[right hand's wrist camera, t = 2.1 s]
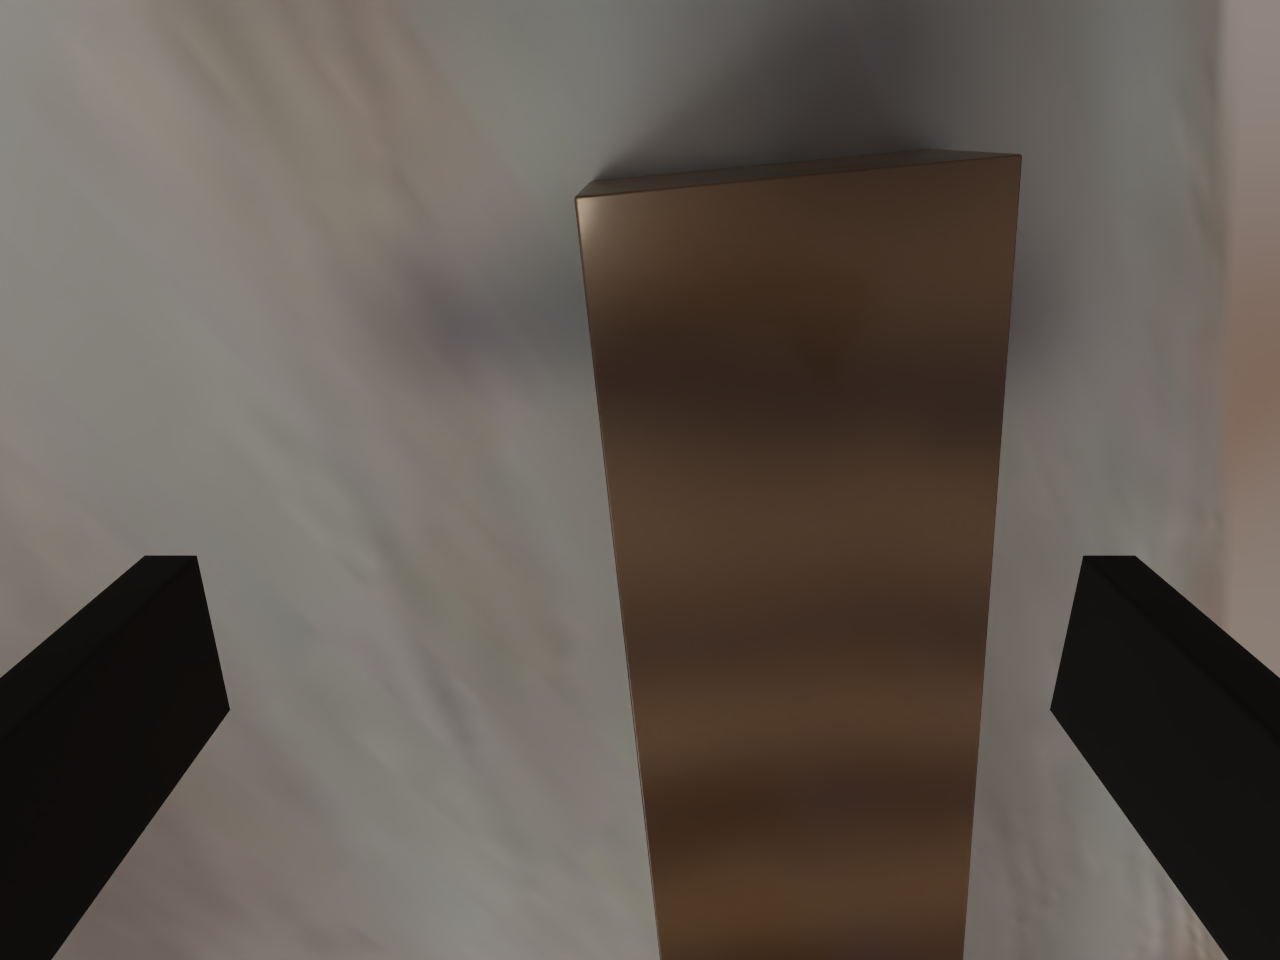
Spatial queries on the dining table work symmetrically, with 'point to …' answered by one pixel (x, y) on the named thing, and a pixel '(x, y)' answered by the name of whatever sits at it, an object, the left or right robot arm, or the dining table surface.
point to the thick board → (805, 535)
